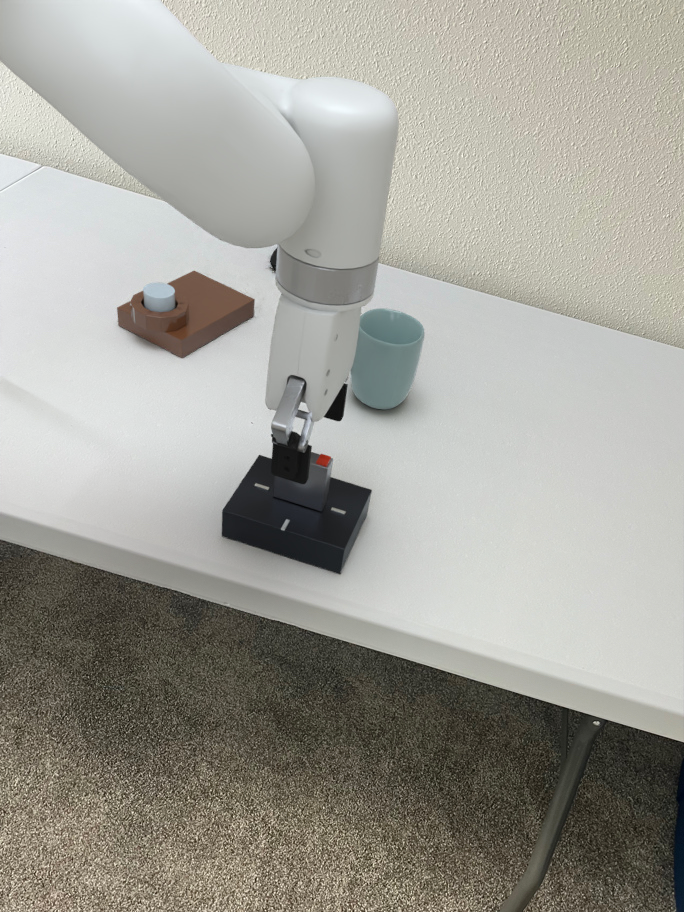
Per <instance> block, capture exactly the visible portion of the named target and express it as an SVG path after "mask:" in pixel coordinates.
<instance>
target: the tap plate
mask: <svg viewBox="0 0 684 912" xmlns="http://www.w3.org/2000/svg"><path fill="white" fill-rule="evenodd" d="M271 464H272V457H268V456H265V455H261V454H259V455H258V456H257V457H256V459H255V460H254V461H253V463H252V465H251V466H250V467H249V469H248V471H247V473H246V474H245V475H244V477H243V478H242V480H241V481H240V483H239V484H238V486H237V487H236V489H235V490H234V491H233V494H232V495H231V497H230V498H229V499H228V501H227V502H226V504H225V506H224V507H223V508H222V510H221V537H222V538H225V539H229V540H232V541H235V542H237V543H240V544H244V545H248V546H250V547H253V548H257V549H260V550H263V551H265V552H269V553H271V554H275V555H278V556H282V557H285V558H288V559H291V560H294V561H297V562H301V563H304V564H306V565H309V566H313V567H316V568H319V569H322V570H325V571H329V572H330V573H334V574H338V575H341V573H342V571H343V569H344V567H345V564H346V563H347V561H348V558H349V555H350V553H351V552H352V549H353V546H354V544H355V543H356V540H357V538H358V537H359V534H360V531H361V529H362V527H363V525H364V522H365V520H366V518H367V516H368V512H369V508H370V502H371V496H372V493H373V491H372V490H373V489H370V488H366V487H364V486H361V485H358V484H355V483H351V482H348V481H345V480H341V479H339V478H335V477H332V476H331V478H330V484H329V491H328V498H327V503H326V505H325V506H324V508H323V510H322V512H321V511H318V510H315V509H311V508H308V507H305V506H302V505H299V504H296V503H292V502H289V501H286V500H283V499H280V498H276V497H273V486H274V475H273V474H272V473H271Z"/></svg>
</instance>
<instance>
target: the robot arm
mask: <svg viewBox="0 0 684 912" xmlns="http://www.w3.org/2000/svg"><path fill="white" fill-rule="evenodd" d="M0 62H1V63H2V64H3V65H4V66H5V67H7V69H8V70H10V72H12V73H13V74H14V75H15V77H17V78H19V79H20V80H21V81H23V82H24V83H25V84H26V85H27V86H28V87H29V88H30V89H31V90H33V91H34V92H35V93H37V94H38V95H39V96H40V97H41V98H42V99H43V100H44V101H46V102H47V103H48V104H49V105H50V106H51V107H52V108H54V109H55V111H57V112H58V113H59V114H60V115H61V116H62V117H64V118H65V120H67V121H68V122H69V123H70V124H71V125H72V126H73V127H74V128H76V129H77V130H78V132H80V133H81V134H82V135H83V136H84V137H86V139H88V140H89V141H90V142H91V143H92V144H93V145H95V147H97V149H99V150H100V151H101V152H102V153H103V154H104V155H106V156H107V157H108V158H109V159H110V160H112V161H113V162H114V163H115V164H116V165H118V166H119V167H120V168H121V169H122V170H123V171H125V172H126V173H127V174H128V175H130V177H132V178H133V179H135V180H136V181H137V182H138V183H140V184H141V185H142V186H144V187H145V188H146V189H148V190H149V191H150V192H152V193H153V194H154V195H155V196H157V197H158V198H160V199H161V200H162V201H164V202H165V203H167V204H168V205H169V206H171V207H172V208H173V209H175V210H176V211H177V212H179V213H180V214H181V215H182V216H184V217H185V218H187V219H188V220H189V221H191V223H194V224H195V225H196V226H197V227H199V228H200V229H202V230H203V231H205V232H206V233H208V234H209V235H210V236H213V238H216V239H218V240H219V241H222V242H224V243H226V244H229V245H232V246H234V247H241V248H244V249H264V248H270V247H273V246H276V245H277V246H276V248H277V262H276V270H275V280H274V281H275V286H276V288H277V290H278V291H279V292H280V296H279V298H278V302H277V303H278V304H277V306H276V311H275V317H274V322H273V326H272V334H271V340H270V346H269V347H270V349H269V355H268V356H269V357H268V364H267V365H268V367H267V376H266V386H265V398H264V403H265V406H266V408H267V409H268V410H272V411H275V413H274V416H273V418H272V420H271V424H270V429H271V433H270V437H271V443H272V447H271V448H272V449H271V450H272V451H271V458H272V464H271V473H272V474H273V475H274V476H277V477H280V478H284V479H287V480H290V481H293V482H297V483H300V484H306V482H307V480H308V478H309V468H310V459H311V452H312V448H313V446H312V445H311V444H309V442H310V438H311V435H312V431H313V428H314V424H315V423H316V422H319V421H321V420H323V418H325V419H328V420H331V421H335V422H341V421H342V420H343V418H344V415H345V408H346V401H347V394H348V388H349V387H348V386H349V384H348V383H347V381H348V379H349V376H350V372H351V368H352V365H353V362H354V358H355V353H356V347H357V341H358V333H359V326H360V317H361V315H362V307H365V306H367V305H368V304H369V303H370V302H371V301H372V299H373V298H374V294H375V288H376V282H377V277H378V269H379V263H380V262H379V261H380V253H381V247H382V241H383V240H382V239H383V234H384V228H385V221H386V214H387V207H388V203H389V202H388V201H389V194H390V188H391V183H392V174H393V170H394V169H393V168H394V162H395V156H396V149H397V142H398V136H399V135H398V134H399V126H400V125H399V124H400V122H399V114H398V109H397V107H396V105H395V102H394V101H393V100H392V99H391V97H390V96H389V95H388V94H386V93H385V92H384V91H382V90H381V89H379V88H377V87H375V86H373V85H370V84H368V83H366V82H362V81H360V80H356V79H351V78H346V77H338V76H315V77H309V78H304V79H300V78H294V77H293V78H292V77H288V76H284V75H283V76H282V75H278V74H274V73H270V72H265V71H261V70H257V69H253V68H249V67H245V66H241V65H237V64H232V63H227V62H220V61H219V60H218V59H217V58H216V57H215V56H214V55H213V54H212V53H211V52H210V51H209V50H208V49H207V48H206V46H204V44H202V43H201V42H200V41H199V40H198V39H197V38H196V37H195V35H194V34H193V33H191V31H189V29H188V28H187V27H186V26H185V25H184V24H183V23H182V22H181V21H180V20H179V19H178V18H177V17H176V15H175V14H174V13H173V12H172V11H171V10H170V8H168V7H167V6H166V4H164V2H163V1H162V0H0ZM302 403H303V404H306V407H307V410H308V411H305V410H303V409H302V410H301V409H299V408H300V405H301V404H302ZM295 418H299V419H301V420H304V423H303V426H302V429H301V433H300V434H299V433H298V432H297V431H293V430H294V421H295Z"/></svg>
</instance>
